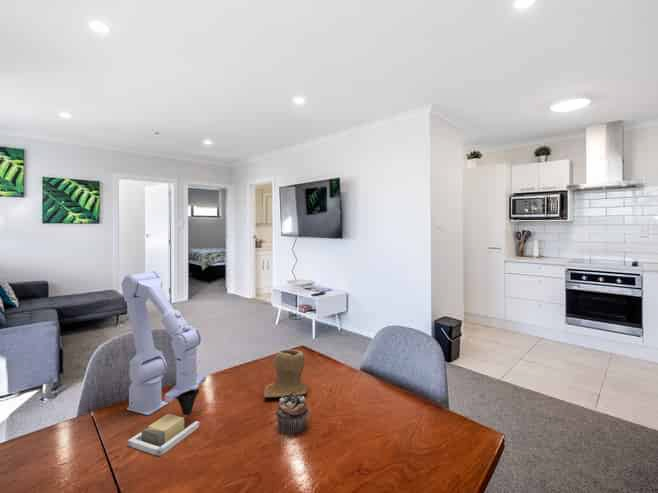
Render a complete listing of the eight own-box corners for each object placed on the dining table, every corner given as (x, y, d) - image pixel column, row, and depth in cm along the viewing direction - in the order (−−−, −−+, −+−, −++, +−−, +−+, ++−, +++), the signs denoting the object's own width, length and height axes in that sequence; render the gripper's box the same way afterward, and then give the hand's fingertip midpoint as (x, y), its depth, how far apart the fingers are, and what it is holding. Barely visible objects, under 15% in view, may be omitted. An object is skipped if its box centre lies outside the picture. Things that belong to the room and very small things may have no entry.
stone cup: (304, 383, 130) (304, 344, 130) (308, 399, 119) (308, 356, 118) (264, 386, 128) (264, 347, 127) (263, 402, 116) (263, 359, 115)
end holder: (127, 445, 92) (127, 440, 92) (169, 418, 106) (169, 414, 105) (159, 456, 88) (159, 450, 88) (199, 426, 101) (199, 421, 101)
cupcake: (314, 423, 104) (314, 391, 103) (295, 440, 95) (295, 405, 95) (289, 414, 109) (289, 383, 108) (268, 429, 100) (268, 396, 100)
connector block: (142, 444, 93) (141, 430, 93) (168, 426, 102) (168, 413, 101) (158, 449, 91) (158, 435, 91) (184, 431, 99) (184, 417, 99)
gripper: (178, 382, 96) (178, 429, 96) (213, 363, 109) (213, 404, 110) (159, 377, 98) (159, 424, 99) (196, 360, 112) (196, 400, 112)
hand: (187, 413), depth 104 cm, fingers closed
